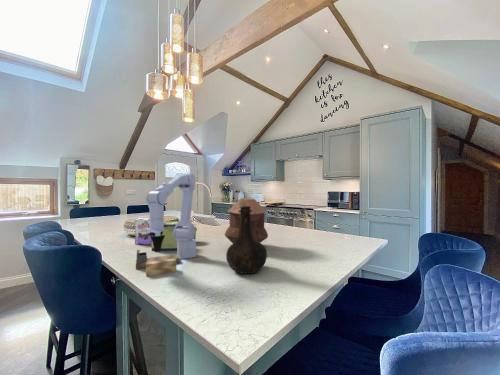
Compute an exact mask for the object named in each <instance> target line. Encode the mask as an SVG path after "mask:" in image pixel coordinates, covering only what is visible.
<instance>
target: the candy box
mask: <svg viewBox="0 0 500 375" xmlns="http://www.w3.org/2000/svg"><path fill="white" fill-rule="evenodd" d="M147 229H150V217H148V218H142V217H138V218H135V219H134V244H135V245H150V246H152V239H151V238H150V236H151V235H150V231H147Z"/></svg>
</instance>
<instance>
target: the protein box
mask: <svg viewBox="0 0 500 375" xmlns="http://www.w3.org/2000/svg"><path fill="white" fill-rule="evenodd" d="M178 222H179V221H164V231H163V233H162V235H165V237H164V239H163V241H162V246H161V251H160V252H164V251H165V252H169V251H170V252H171V251H172V252H174V251H175V252H177V240H176V238H174V235H173V232H174V229H175V225H176V224H177V223H178ZM151 251H152V252H155V251H154V246H153V242H152V245H151Z"/></svg>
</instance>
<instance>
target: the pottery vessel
mask: <svg viewBox="0 0 500 375" xmlns="http://www.w3.org/2000/svg"><path fill="white" fill-rule="evenodd" d="M242 206H250V207H251V208H250V210H252V212H250V218H251V229H252V235H253V239H254V241H255V242H258V243H261V244H262V242H263V241H265V240H267V239H268V237H269V234H268V231H267V230H266V228H265V213H267V209H265V208H264V207H263V206H262V205H261V204H260V203H259V202H258V201H257V200H256V199H254V198H251V197H241V198H239V199H238V200H237V201H236V202H235V203H234V204H233V205H232V206H231V207H230V208H229V209H228V210H227V213H229V221H228V222H229V226H228V227H227V228H226V230H225V232H224V236H225V238H226V239H227V240H229V241H230V242H231V243H232V244H234V243H235V242H236V241H237V239H238V235H239V228H240V212H238V211H240V210H241V209H240V207H242Z"/></svg>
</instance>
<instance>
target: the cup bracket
mask: <svg viewBox="0 0 500 375" xmlns="http://www.w3.org/2000/svg"><path fill="white" fill-rule="evenodd" d="M147 253H148V252H147V251H145V252H140V249H137V250H136V259H137V263H143V262H147V258H148V255H147Z"/></svg>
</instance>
